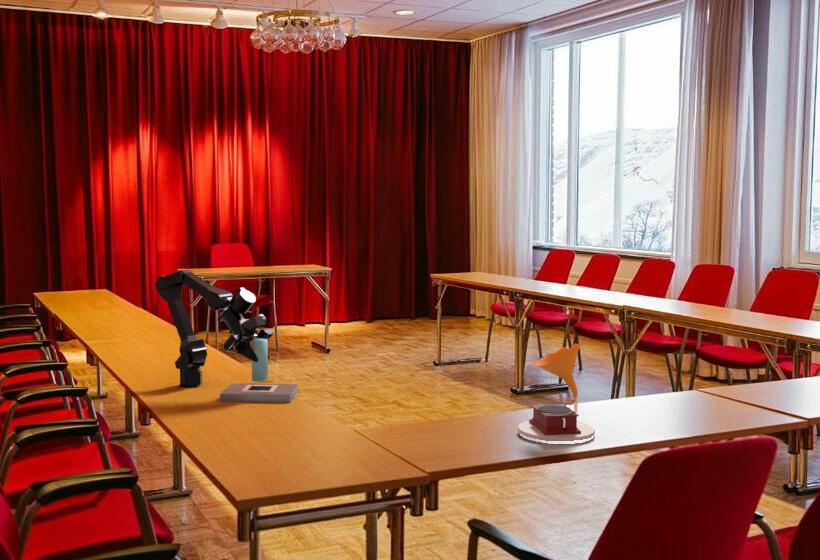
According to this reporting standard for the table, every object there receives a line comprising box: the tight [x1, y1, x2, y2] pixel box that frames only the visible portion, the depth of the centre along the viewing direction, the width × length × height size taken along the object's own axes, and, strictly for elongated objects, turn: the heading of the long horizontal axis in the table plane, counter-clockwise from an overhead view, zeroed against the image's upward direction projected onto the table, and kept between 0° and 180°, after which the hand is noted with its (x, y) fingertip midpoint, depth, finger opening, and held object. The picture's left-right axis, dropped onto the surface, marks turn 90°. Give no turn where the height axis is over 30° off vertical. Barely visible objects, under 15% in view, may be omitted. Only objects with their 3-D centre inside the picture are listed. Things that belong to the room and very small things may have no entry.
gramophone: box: [517, 342, 596, 441], centre depth 243 cm, size 20×20×25 cm
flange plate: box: [219, 382, 299, 403], centre depth 290 cm, size 22×16×3 cm
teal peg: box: [251, 339, 269, 383], centre depth 289 cm, size 5×5×13 cm
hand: (263, 360), depth 288 cm, fingers closed on teal peg, 5 cm apart
